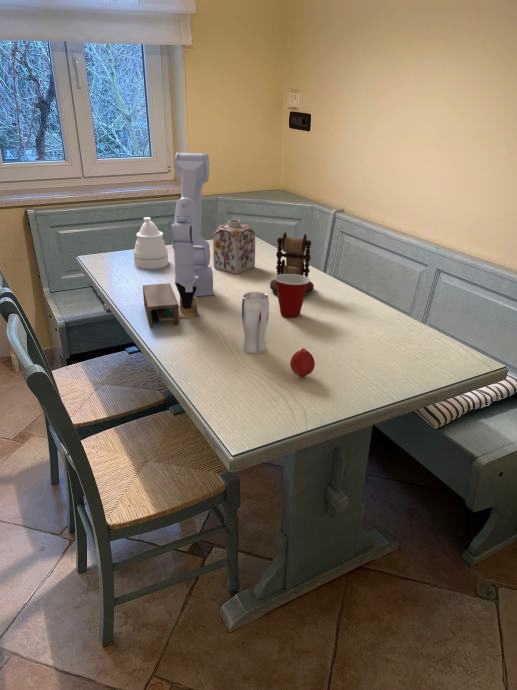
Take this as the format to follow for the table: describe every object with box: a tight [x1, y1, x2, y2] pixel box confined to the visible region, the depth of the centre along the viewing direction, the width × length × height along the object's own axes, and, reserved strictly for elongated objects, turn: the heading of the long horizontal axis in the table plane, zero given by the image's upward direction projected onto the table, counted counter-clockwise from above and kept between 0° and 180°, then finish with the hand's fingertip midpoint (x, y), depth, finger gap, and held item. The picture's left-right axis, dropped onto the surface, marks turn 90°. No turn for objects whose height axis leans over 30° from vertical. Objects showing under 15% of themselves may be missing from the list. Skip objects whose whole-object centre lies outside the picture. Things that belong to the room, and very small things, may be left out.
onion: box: [289, 347, 316, 379], centre depth 125 cm, size 6×6×8 cm
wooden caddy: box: [142, 282, 180, 329], centre depth 157 cm, size 8×18×6 cm, turn 16°
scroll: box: [269, 232, 315, 296], centre depth 175 cm, size 15×15×20 cm
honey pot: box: [133, 216, 169, 270], centre depth 199 cm, size 13×13×18 cm
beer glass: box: [241, 291, 270, 355], centre depth 136 cm, size 7×7×15 cm
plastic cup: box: [273, 274, 311, 319], centre depth 158 cm, size 11×11×12 cm
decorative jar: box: [212, 219, 256, 275], centre depth 197 cm, size 12×12×18 cm
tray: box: [155, 296, 201, 322], centre depth 159 cm, size 12×9×5 cm
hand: (186, 306), depth 160 cm, fingers open, 2 cm apart
